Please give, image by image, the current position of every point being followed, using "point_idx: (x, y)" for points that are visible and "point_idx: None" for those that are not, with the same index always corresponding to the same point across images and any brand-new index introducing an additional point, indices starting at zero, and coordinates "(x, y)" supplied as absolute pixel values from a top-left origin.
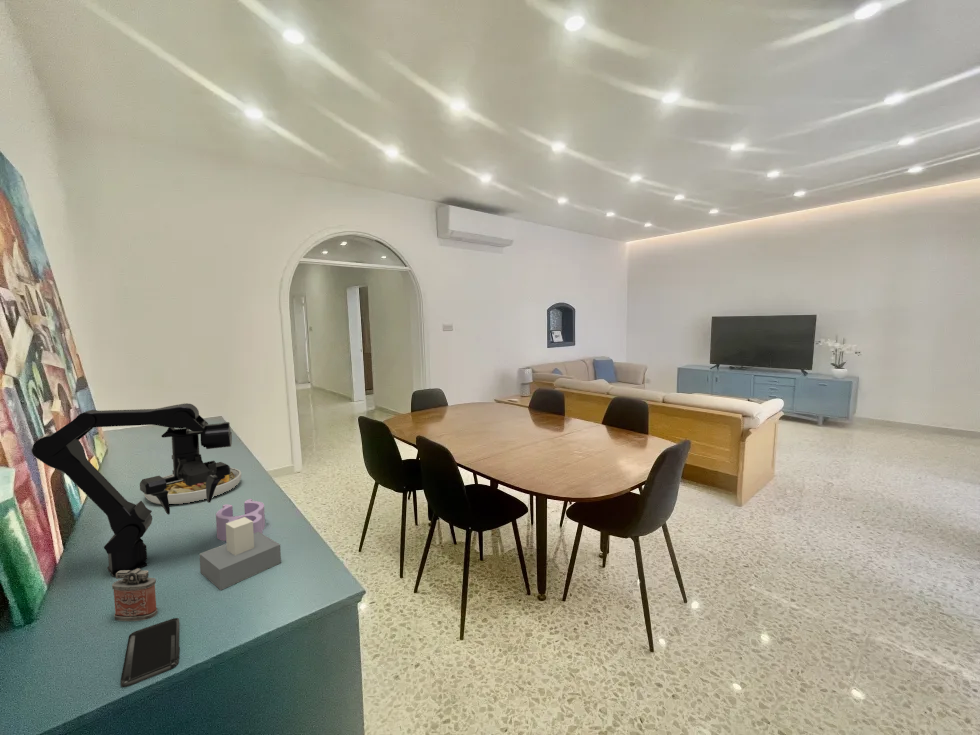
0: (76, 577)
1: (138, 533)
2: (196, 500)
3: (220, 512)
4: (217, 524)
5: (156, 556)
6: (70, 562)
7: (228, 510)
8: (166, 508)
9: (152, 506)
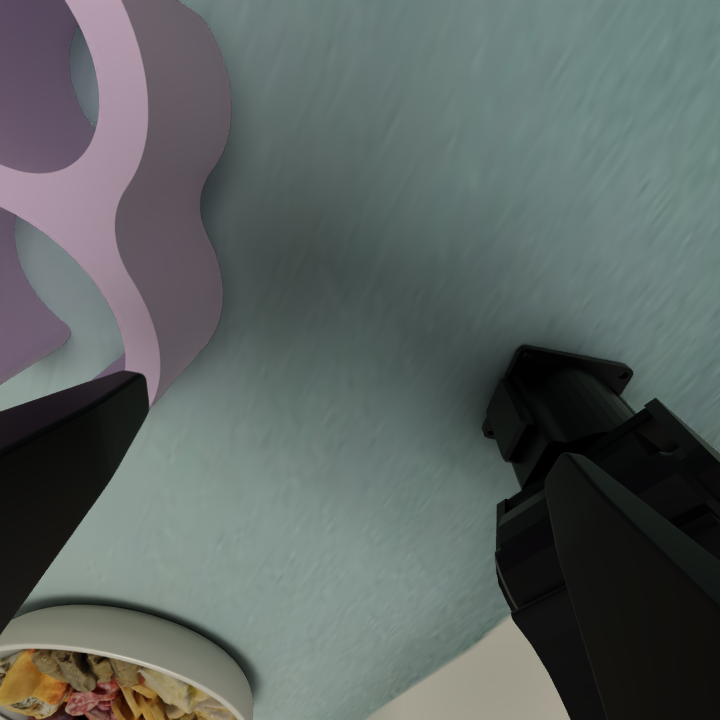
0: None
1: (698, 446)
2: (155, 621)
3: None
4: (187, 333)
5: (448, 387)
6: None
7: None
8: (659, 520)
9: (255, 667)
